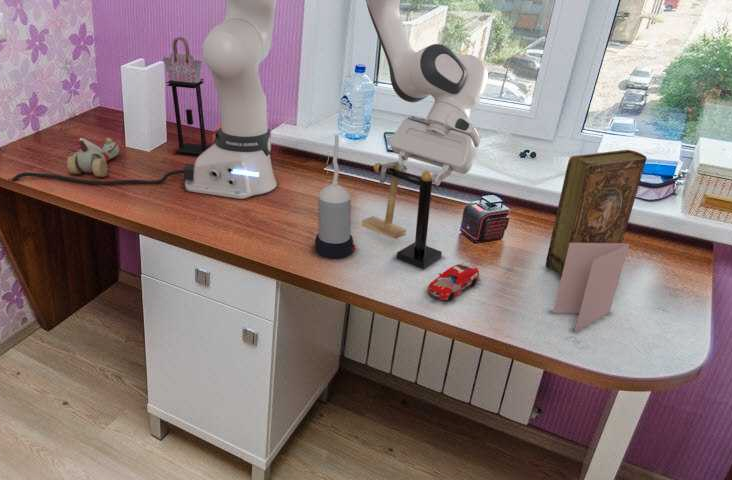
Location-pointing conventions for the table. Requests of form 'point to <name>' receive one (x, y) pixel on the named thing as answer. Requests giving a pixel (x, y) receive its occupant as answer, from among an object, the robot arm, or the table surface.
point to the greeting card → (590, 280)
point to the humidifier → (334, 218)
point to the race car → (453, 281)
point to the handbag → (188, 76)
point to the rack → (418, 250)
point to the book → (595, 201)
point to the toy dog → (92, 158)
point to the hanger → (386, 225)
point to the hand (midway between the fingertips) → (416, 177)
